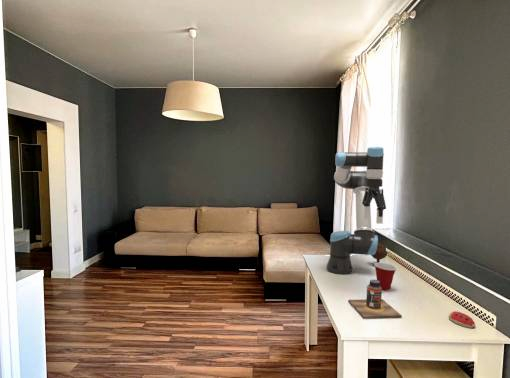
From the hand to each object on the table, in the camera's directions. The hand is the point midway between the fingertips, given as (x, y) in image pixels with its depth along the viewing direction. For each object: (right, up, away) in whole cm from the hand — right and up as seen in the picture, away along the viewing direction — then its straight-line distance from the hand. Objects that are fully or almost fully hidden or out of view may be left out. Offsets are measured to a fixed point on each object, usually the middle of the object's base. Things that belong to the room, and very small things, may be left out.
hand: (372, 221), depth 152 cm
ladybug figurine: (+23, -37, -31) cm, 54 cm away
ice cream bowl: (+19, -33, +42) cm, 56 cm away
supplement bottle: (-8, -35, -20) cm, 41 cm away
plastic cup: (+7, -35, +4) cm, 36 cm away
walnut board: (-8, -36, -21) cm, 42 cm away
